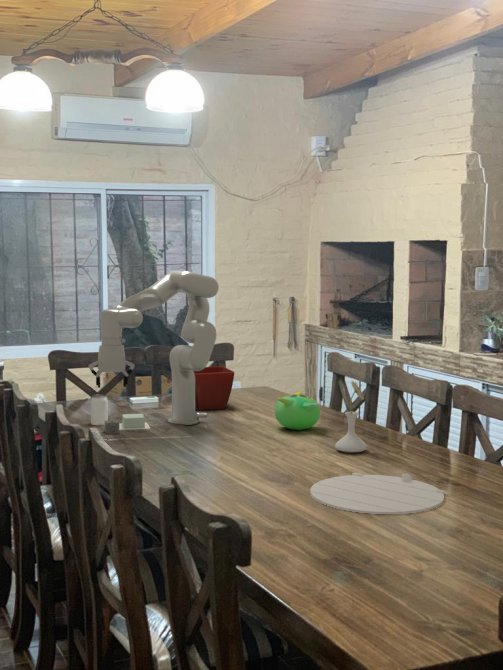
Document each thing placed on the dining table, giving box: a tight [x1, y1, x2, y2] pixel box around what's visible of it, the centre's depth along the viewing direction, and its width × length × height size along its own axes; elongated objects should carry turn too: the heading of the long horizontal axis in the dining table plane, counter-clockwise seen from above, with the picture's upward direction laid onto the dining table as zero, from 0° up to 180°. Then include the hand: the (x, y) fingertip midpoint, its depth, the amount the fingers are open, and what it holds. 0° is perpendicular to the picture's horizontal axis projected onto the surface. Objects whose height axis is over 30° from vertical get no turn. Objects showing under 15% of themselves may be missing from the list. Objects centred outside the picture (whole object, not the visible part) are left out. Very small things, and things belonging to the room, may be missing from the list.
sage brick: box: [121, 413, 146, 428], centre depth 356 cm, size 8×8×4 cm
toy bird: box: [274, 390, 321, 431], centre depth 357 cm, size 18×17×15 cm
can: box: [90, 394, 109, 426], centre depth 360 cm, size 6×6×12 cm
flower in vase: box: [334, 380, 368, 453], centre depth 322 cm, size 13×11×25 cm
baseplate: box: [119, 421, 152, 431], centre depth 357 cm, size 12×12×1 cm
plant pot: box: [194, 366, 235, 411], centre depth 401 cm, size 19×19×17 cm
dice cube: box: [104, 419, 120, 435], centre depth 345 cm, size 5×5×5 cm
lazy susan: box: [309, 472, 449, 515], centre depth 268 cm, size 40×39×3 cm
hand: (111, 386), depth 343 cm, fingers open, 9 cm apart
